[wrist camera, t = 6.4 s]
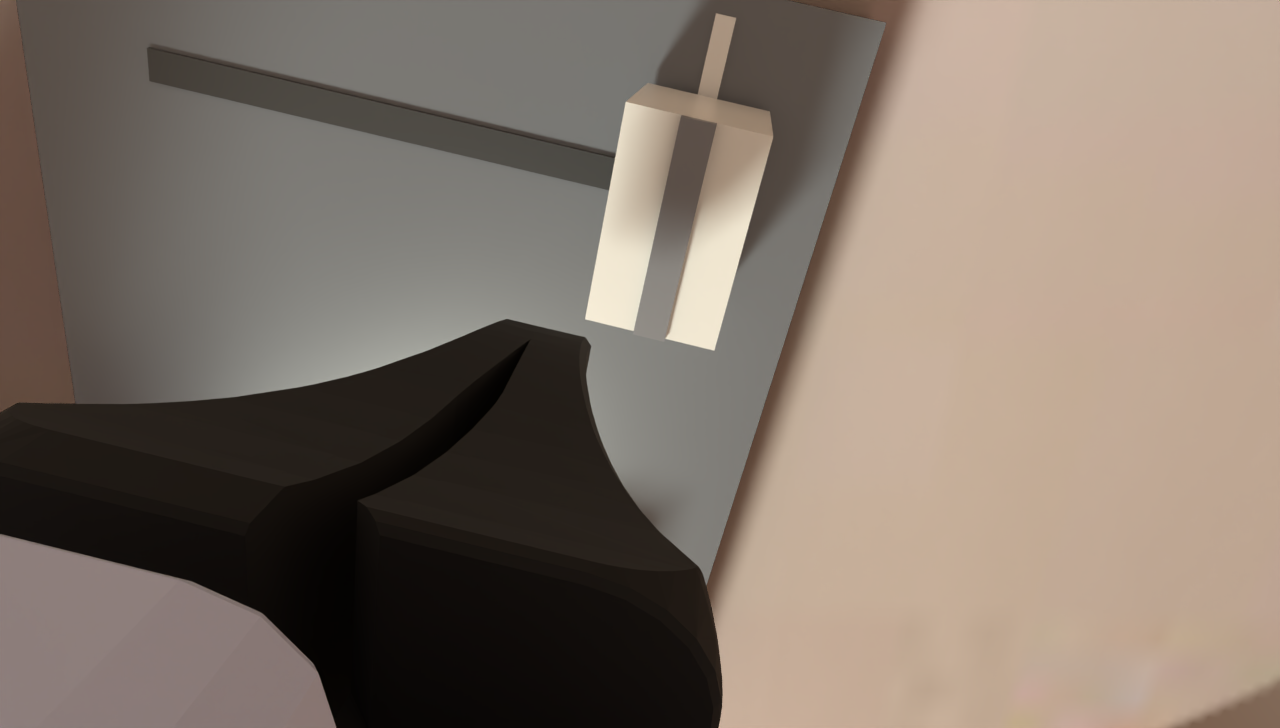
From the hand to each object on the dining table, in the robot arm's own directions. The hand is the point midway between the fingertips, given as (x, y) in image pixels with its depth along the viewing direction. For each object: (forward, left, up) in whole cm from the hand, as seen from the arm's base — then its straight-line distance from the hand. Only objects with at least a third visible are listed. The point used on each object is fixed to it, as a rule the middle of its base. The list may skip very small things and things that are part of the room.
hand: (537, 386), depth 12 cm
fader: (+1, +2, -6) cm, 7 cm away
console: (-5, -5, -8) cm, 11 cm away
